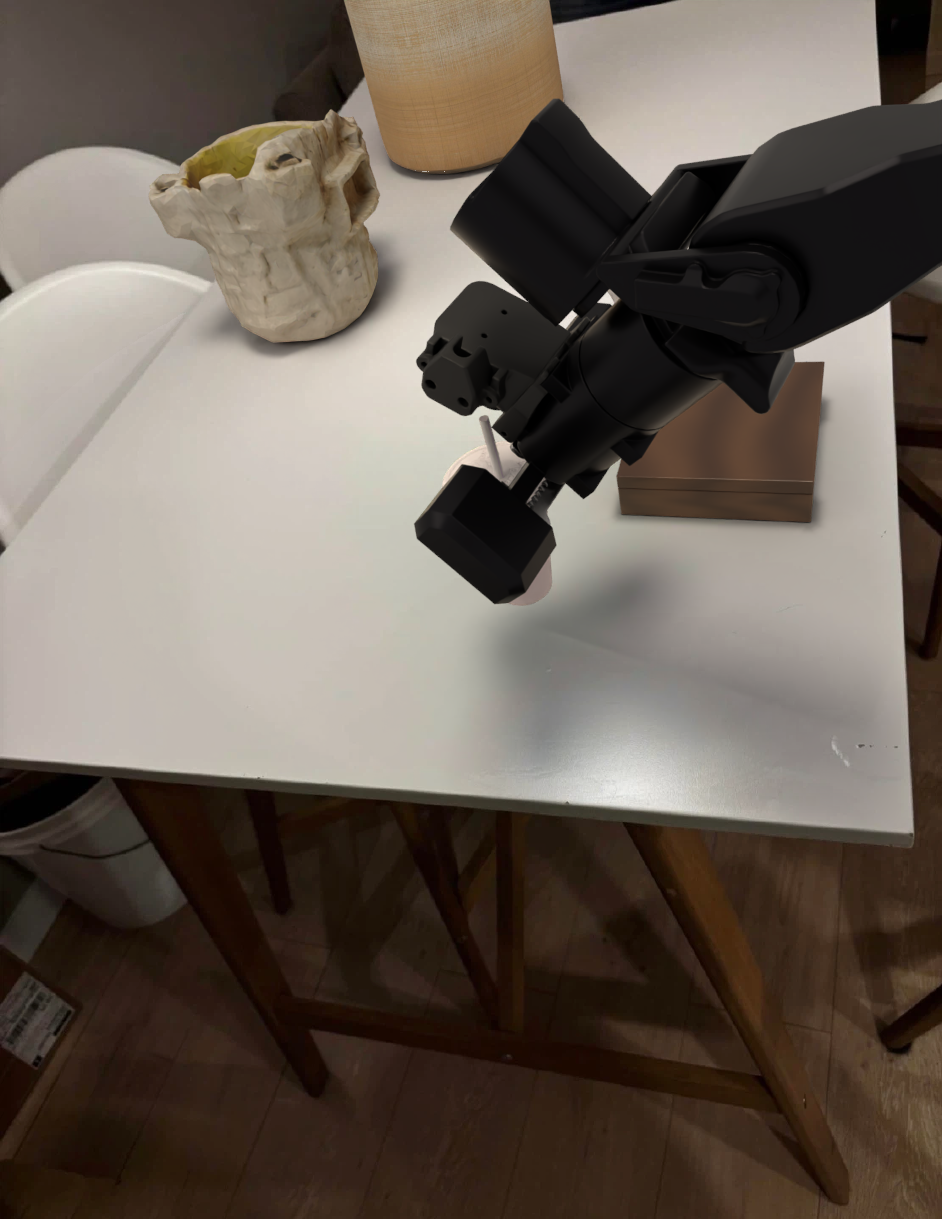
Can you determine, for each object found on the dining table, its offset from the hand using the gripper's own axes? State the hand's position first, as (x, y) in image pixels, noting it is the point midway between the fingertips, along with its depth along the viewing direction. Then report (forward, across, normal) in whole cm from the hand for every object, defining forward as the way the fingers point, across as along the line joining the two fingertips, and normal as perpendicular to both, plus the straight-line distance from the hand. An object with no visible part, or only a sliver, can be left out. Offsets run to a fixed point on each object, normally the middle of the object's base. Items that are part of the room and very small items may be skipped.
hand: (483, 502), depth 55 cm
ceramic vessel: (+42, -36, -24) cm, 60 cm away
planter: (+44, -76, -26) cm, 92 cm away
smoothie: (+4, 0, +6) cm, 7 cm away
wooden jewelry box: (+5, -22, +14) cm, 27 cm away
